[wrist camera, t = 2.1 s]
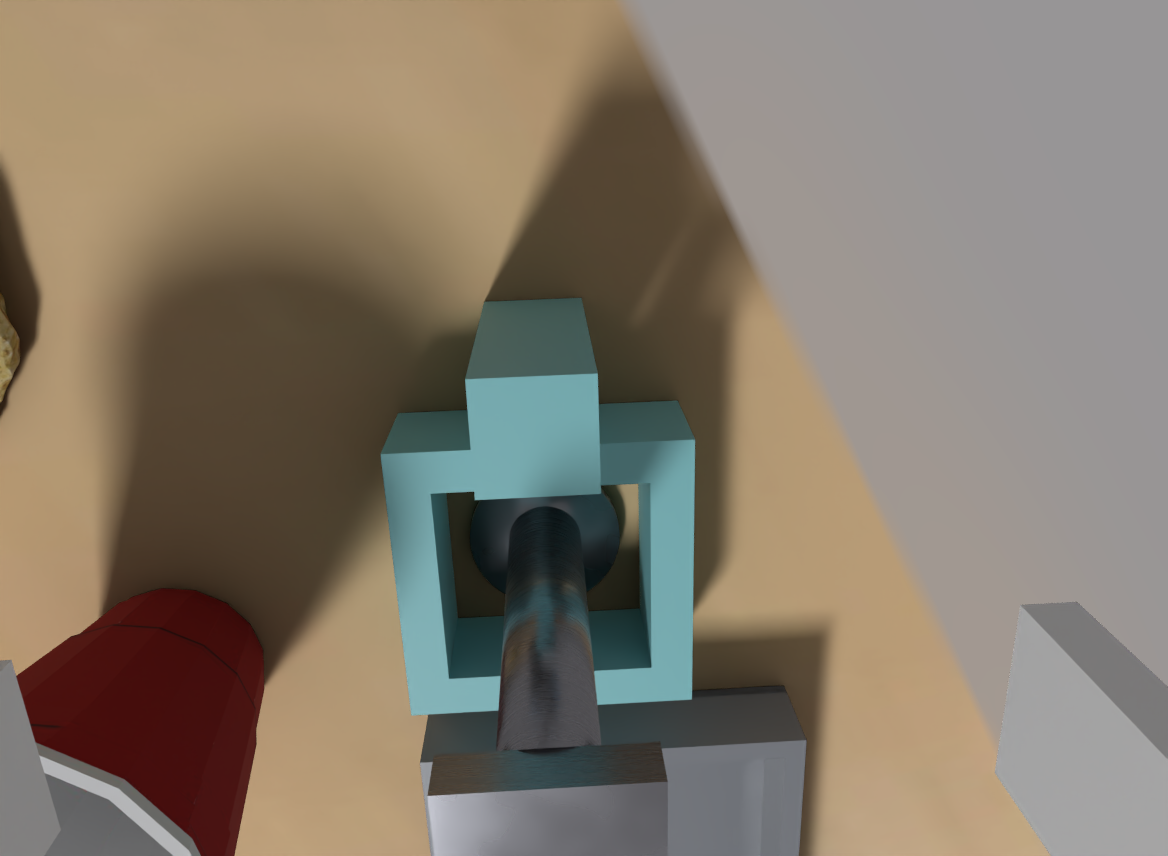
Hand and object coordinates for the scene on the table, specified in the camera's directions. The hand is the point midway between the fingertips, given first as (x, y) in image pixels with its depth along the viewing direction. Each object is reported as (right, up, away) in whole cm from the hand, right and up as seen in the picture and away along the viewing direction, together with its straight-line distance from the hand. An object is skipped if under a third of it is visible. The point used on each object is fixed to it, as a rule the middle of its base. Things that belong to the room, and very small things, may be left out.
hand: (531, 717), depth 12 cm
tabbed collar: (-1, +2, +18) cm, 18 cm away
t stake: (-1, 0, +19) cm, 19 cm away
